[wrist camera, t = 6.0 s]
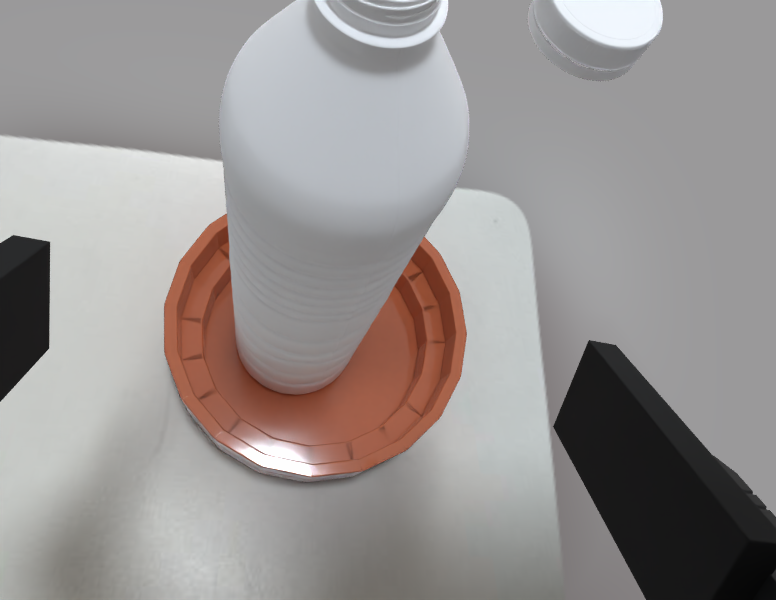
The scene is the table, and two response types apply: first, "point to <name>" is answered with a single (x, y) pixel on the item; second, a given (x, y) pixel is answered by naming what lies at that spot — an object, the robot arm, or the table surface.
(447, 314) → the bowl
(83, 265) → the table surface
